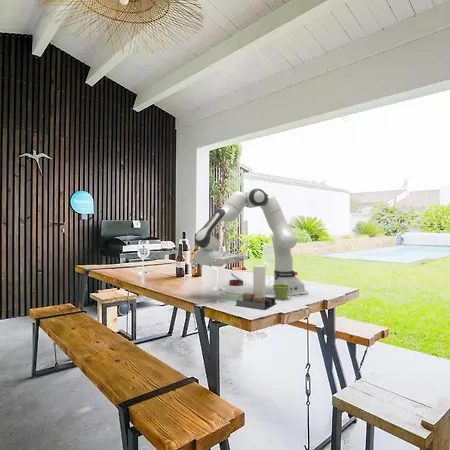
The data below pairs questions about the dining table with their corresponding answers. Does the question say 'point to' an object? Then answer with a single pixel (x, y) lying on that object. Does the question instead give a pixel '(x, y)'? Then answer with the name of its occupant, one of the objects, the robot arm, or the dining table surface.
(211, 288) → the dining table surface
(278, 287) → the plant pot
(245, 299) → the offcut
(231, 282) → the canned food
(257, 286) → the panel
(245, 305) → the rack
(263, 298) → the offcut
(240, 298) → the holder
